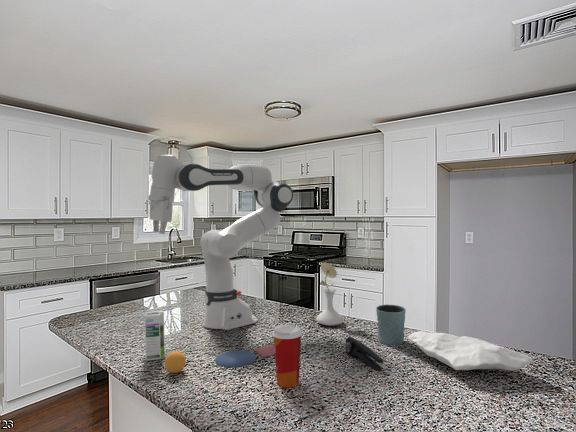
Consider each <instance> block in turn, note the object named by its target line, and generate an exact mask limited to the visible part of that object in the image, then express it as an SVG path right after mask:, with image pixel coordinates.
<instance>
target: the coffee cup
mask: <svg viewBox="0 0 576 432" xmlns="http://www.w3.org/2000/svg"><path fill="white" fill-rule="evenodd" d="M271 335H272V336H273V345H274V350H275V355H274V360H275V363H274V364H275V375H276V384H277V385H278V387H280V388H284V389H291V388H295V387H297V386H298V384H299V380H300V366H301V364H300V362H301V345H302V344H301V342H302V341H301V340H302V335H303V331H302V329H301V327H300V326H296V325H293V324H280V325H277V326H275V327H274V329H273V331H272V334H271Z"/></svg>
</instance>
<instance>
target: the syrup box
mask: <svg viewBox="0 0 576 432" xmlns="http://www.w3.org/2000/svg"><path fill="white" fill-rule="evenodd" d="M144 343H145V344H144V346H145V348H144V350H145V355H144V356H145V357H144V359H145V362H148V361H155V360H165V352H166V350H165V346H166V345H165V311H164V310H156V311H146V313H144Z"/></svg>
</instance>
